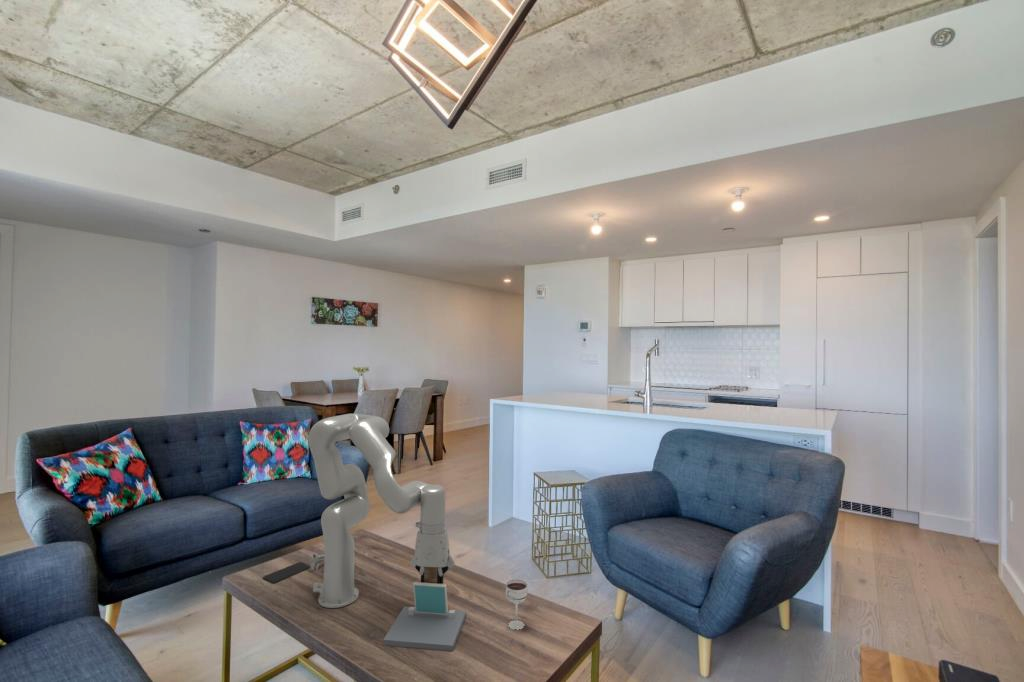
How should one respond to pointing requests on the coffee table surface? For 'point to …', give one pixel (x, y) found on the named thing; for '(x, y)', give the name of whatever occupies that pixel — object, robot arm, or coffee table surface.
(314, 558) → the caliper
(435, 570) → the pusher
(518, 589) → the wineglass
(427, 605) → the tile
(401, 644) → the board
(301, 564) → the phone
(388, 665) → the coffee table surface
